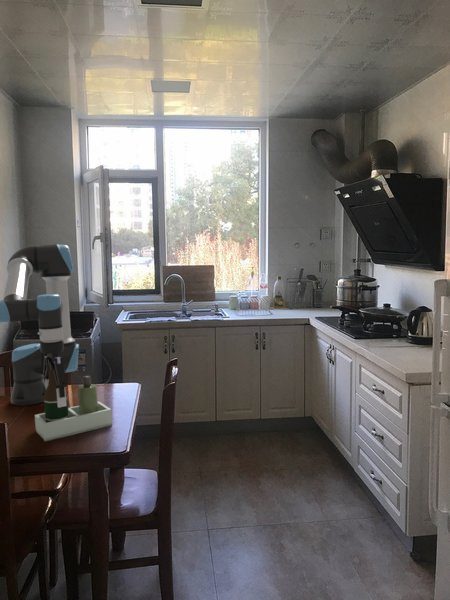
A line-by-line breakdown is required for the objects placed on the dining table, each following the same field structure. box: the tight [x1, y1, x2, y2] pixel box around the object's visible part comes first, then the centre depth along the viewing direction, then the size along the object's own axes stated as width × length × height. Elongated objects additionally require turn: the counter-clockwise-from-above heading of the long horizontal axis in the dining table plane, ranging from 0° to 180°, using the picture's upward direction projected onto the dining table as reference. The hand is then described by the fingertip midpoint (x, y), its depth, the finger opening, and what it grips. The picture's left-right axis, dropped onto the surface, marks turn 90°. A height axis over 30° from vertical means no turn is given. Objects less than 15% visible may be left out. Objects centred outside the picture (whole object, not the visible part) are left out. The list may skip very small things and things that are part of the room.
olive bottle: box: [77, 375, 99, 415], centre depth 175 cm, size 6×6×17 cm
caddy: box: [34, 401, 113, 442], centre depth 172 cm, size 12×23×6 cm, turn 125°
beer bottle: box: [43, 363, 69, 423], centre depth 168 cm, size 8×8×24 cm
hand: (56, 401), depth 168 cm, fingers open, 13 cm apart
